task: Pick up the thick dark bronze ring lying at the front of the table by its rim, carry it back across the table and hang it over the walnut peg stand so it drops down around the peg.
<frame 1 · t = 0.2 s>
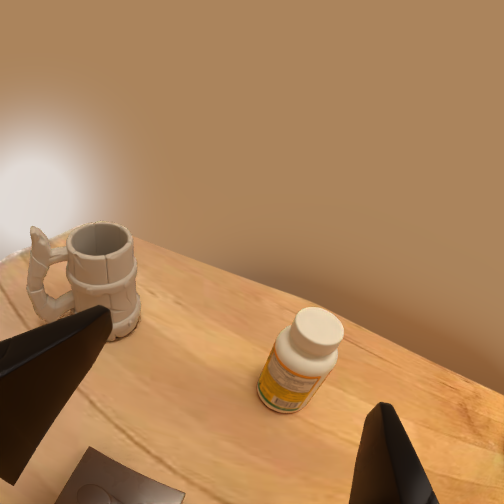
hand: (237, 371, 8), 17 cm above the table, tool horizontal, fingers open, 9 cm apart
mug: (90, 322, 28), on the table
supplement bottle: (282, 392, 27), on the table
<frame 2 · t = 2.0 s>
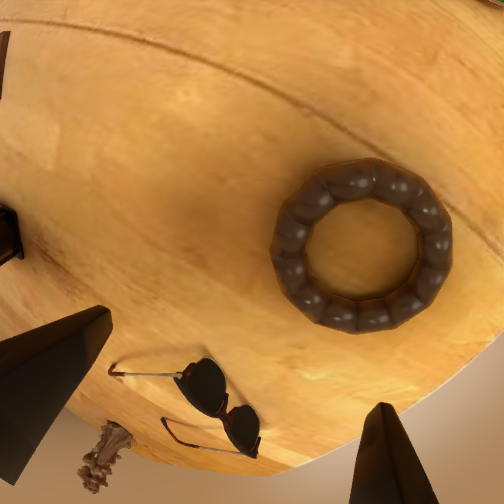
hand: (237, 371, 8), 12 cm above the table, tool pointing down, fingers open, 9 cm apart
sunglasses: (181, 391, 31), on the table
ring: (364, 256, 17), point 1 cm above the table
figurine: (122, 430, 45), on the table
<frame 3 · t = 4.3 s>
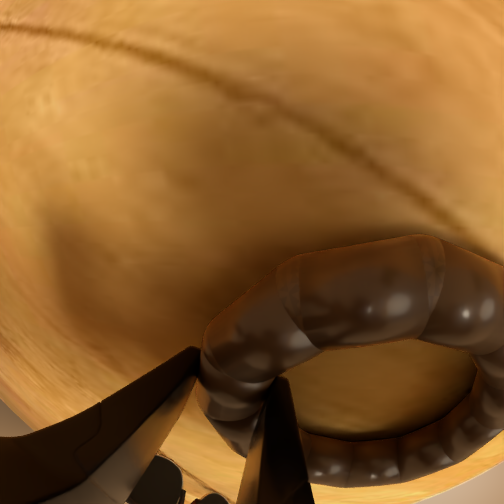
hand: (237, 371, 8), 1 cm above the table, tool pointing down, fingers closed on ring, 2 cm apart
sunglasses: (139, 465, 22), on the table
ring: (374, 410, 8), point 1 cm above the table, touching gripper
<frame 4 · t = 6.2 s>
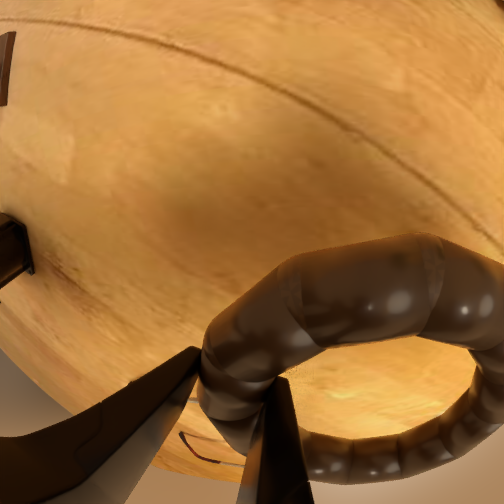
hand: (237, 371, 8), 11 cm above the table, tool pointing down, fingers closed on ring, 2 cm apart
ring: (375, 407, 8), point 11 cm above the table, touching gripper
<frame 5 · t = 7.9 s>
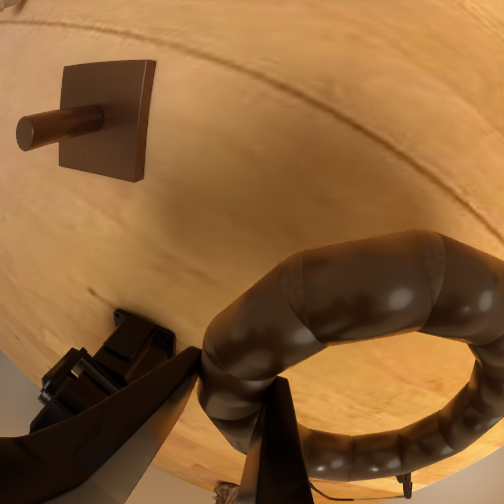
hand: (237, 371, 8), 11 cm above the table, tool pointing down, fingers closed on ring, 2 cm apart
sunglasses: (348, 463, 30), on the table
peg stand: (103, 116, 17), on the table
ring: (376, 403, 8), point 11 cm above the table, touching gripper
figurine: (233, 486, 44), on the table
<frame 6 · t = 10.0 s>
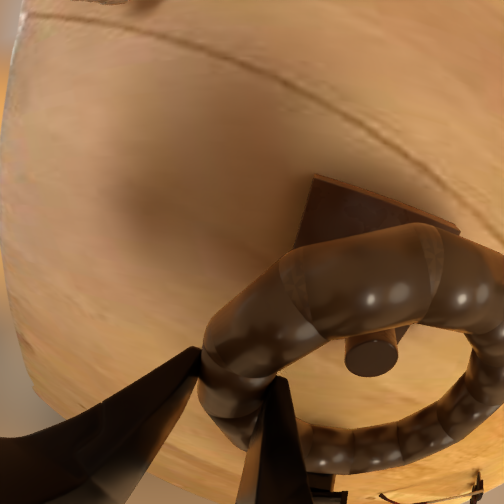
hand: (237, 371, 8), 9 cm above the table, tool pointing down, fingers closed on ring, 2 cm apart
sunglasses: (430, 491, 28), on the table
peg stand: (363, 265, 16), on the table
ring: (375, 396, 8), point 9 cm above the table, tilted 6°, touching gripper
when the fingers open (3 cm above the table, at t = 11.7 s): ring stays where it is, resting on peg stand.
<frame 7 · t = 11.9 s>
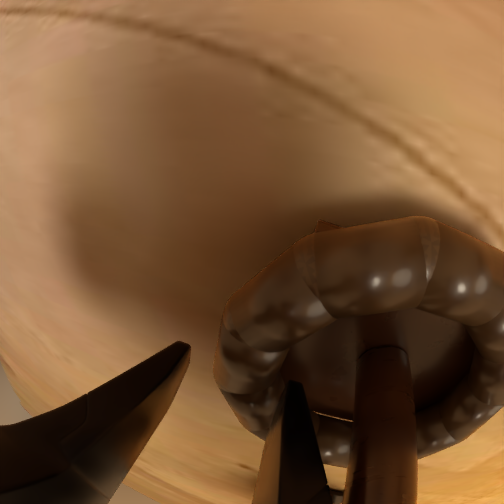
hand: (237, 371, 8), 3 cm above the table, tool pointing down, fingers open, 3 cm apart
peg stand: (381, 345, 10), on the table
ring: (380, 385, 9), point 2 cm above the table, touching peg stand
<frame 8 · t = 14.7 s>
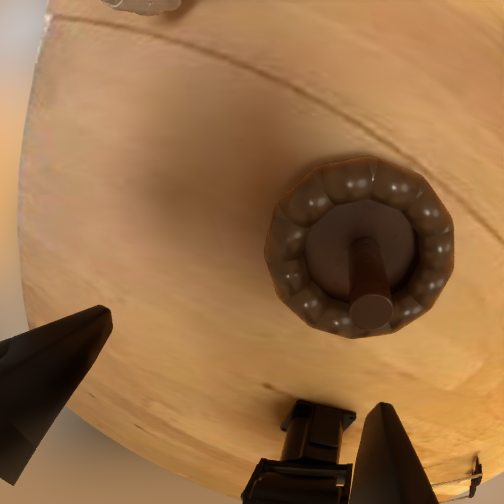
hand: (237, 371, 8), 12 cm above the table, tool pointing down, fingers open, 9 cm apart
sunglasses: (431, 477, 31), on the table
peg stand: (363, 245, 18), on the table
ring: (363, 258, 16), point 2 cm above the table, touching peg stand
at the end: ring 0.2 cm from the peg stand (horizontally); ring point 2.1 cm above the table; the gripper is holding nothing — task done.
